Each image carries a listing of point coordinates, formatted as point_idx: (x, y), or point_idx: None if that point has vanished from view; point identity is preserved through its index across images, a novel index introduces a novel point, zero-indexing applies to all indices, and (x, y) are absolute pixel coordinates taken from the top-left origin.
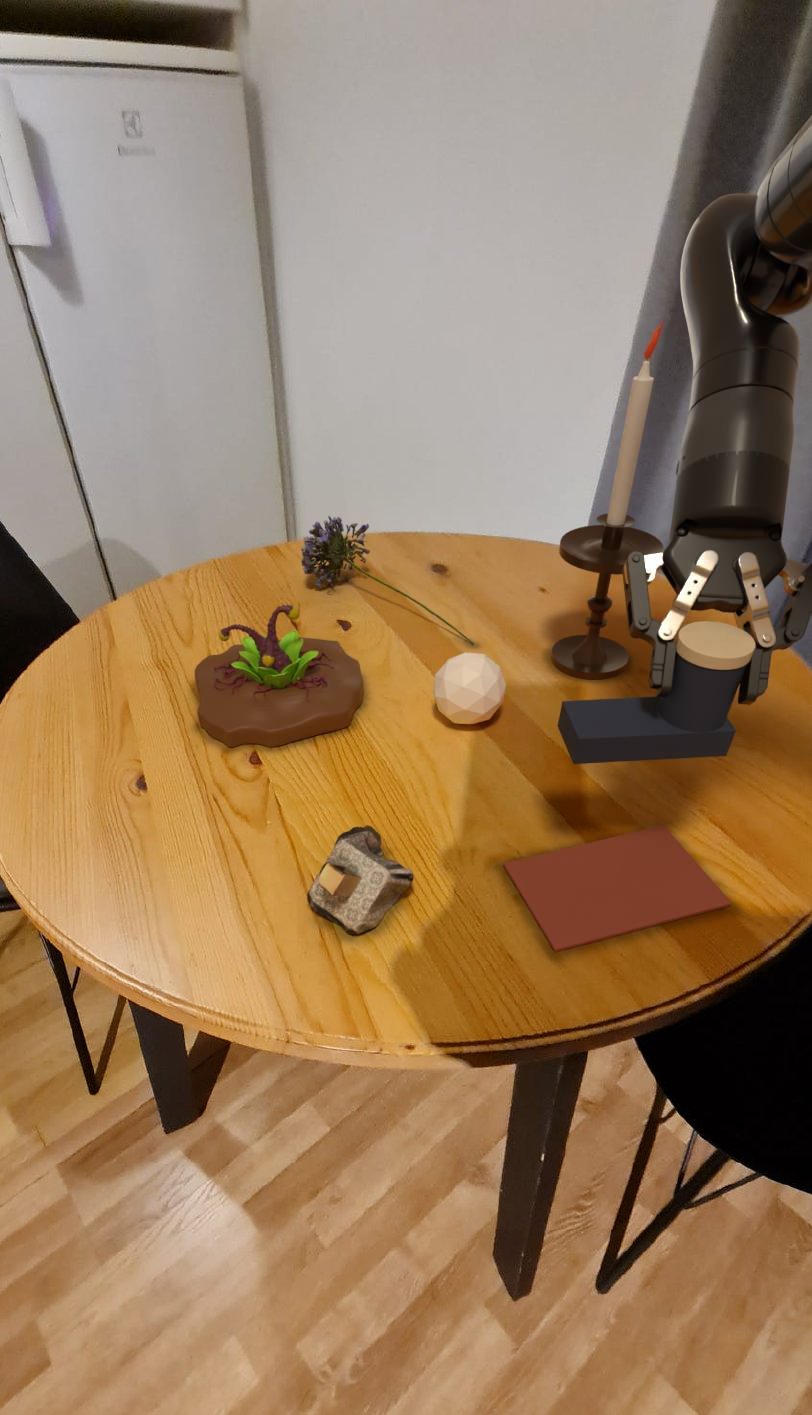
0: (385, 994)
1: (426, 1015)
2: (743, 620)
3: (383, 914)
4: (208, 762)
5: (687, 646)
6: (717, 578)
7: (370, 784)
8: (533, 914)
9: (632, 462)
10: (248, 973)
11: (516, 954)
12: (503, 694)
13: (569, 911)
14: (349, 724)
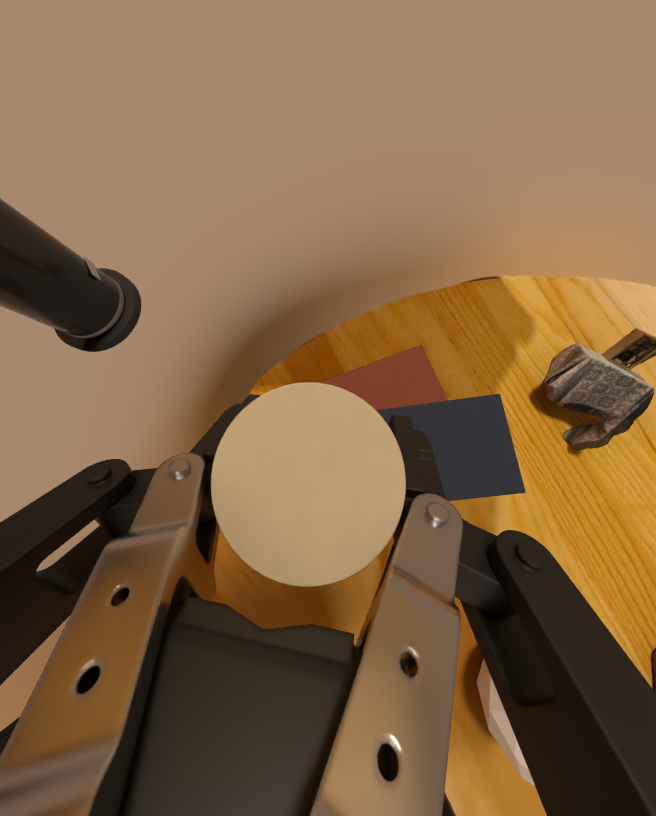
0: (534, 306)
1: (504, 294)
2: (202, 570)
3: (550, 369)
4: None
5: (391, 435)
6: (245, 806)
7: (596, 536)
8: (435, 374)
9: None
10: (638, 314)
11: (446, 343)
12: (486, 691)
13: (409, 378)
14: (654, 655)
